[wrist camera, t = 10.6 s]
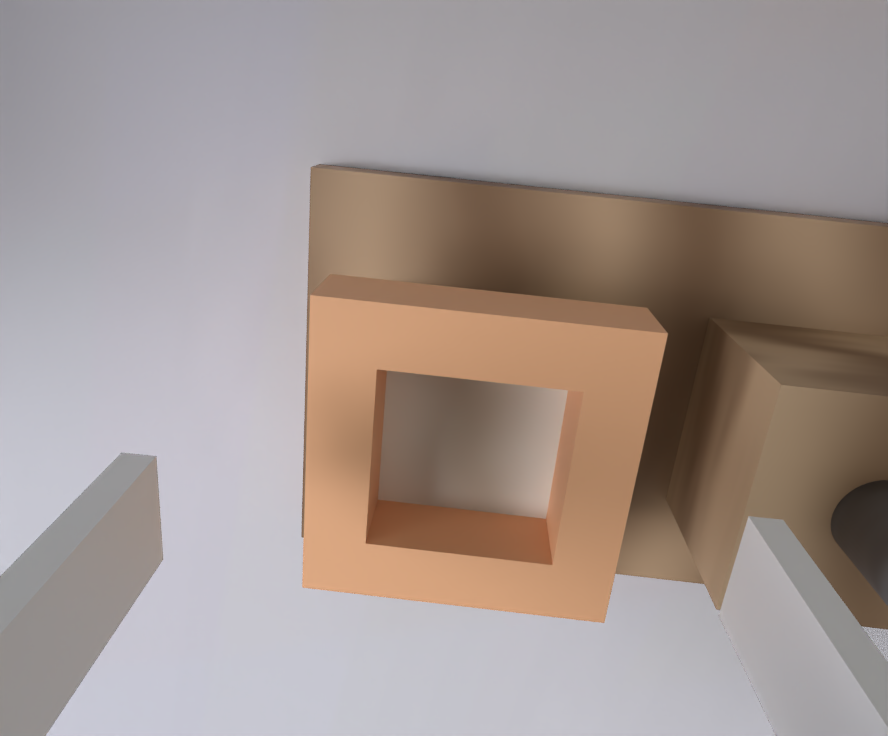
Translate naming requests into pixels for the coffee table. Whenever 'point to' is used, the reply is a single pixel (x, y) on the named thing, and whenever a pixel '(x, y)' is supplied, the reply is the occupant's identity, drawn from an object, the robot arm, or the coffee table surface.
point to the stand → (681, 374)
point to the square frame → (484, 359)
